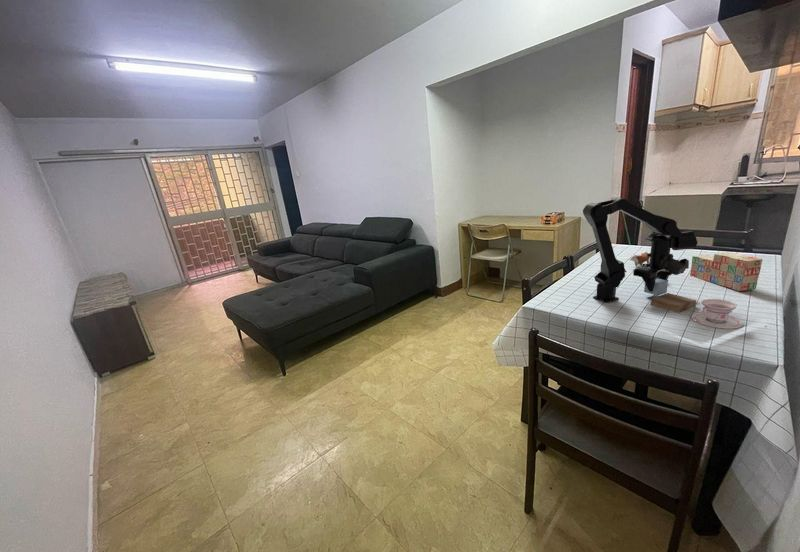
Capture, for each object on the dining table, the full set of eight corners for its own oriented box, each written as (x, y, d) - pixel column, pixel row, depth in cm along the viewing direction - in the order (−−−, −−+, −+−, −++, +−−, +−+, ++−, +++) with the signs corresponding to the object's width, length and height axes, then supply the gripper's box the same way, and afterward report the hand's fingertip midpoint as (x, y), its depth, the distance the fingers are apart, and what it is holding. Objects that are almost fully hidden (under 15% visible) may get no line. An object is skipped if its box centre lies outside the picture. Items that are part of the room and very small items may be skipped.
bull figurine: (626, 270, 157) (627, 254, 155) (642, 264, 162) (644, 249, 160) (635, 271, 153) (637, 255, 151) (652, 266, 158) (654, 250, 156)
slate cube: (657, 295, 121) (659, 283, 119) (644, 291, 125) (645, 280, 124) (666, 292, 122) (668, 280, 121) (652, 289, 127) (654, 277, 125)
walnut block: (677, 313, 110) (679, 305, 109) (650, 305, 118) (651, 298, 118) (694, 307, 113) (696, 300, 112) (667, 300, 121) (668, 293, 120)
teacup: (716, 311, 108) (719, 295, 106) (754, 327, 96) (759, 308, 95) (681, 316, 108) (683, 299, 106) (715, 331, 96) (719, 313, 95)
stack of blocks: (689, 275, 141) (693, 249, 137) (703, 274, 141) (707, 247, 137) (740, 291, 120) (746, 260, 117) (756, 289, 120) (763, 258, 117)
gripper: (666, 259, 109) (661, 301, 113) (702, 250, 114) (695, 290, 119) (634, 254, 119) (630, 292, 124) (668, 245, 125) (663, 283, 129)
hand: (655, 289), depth 123 cm, fingers closed on slate cube, 5 cm apart
